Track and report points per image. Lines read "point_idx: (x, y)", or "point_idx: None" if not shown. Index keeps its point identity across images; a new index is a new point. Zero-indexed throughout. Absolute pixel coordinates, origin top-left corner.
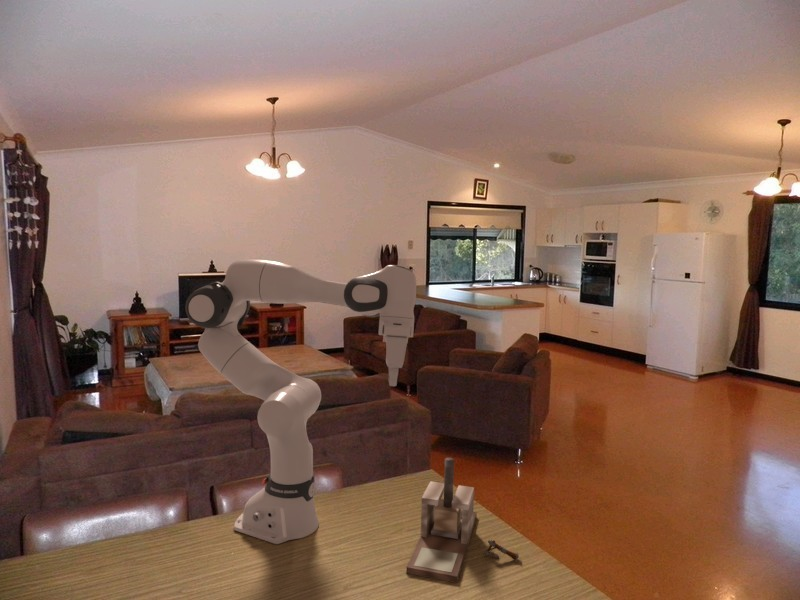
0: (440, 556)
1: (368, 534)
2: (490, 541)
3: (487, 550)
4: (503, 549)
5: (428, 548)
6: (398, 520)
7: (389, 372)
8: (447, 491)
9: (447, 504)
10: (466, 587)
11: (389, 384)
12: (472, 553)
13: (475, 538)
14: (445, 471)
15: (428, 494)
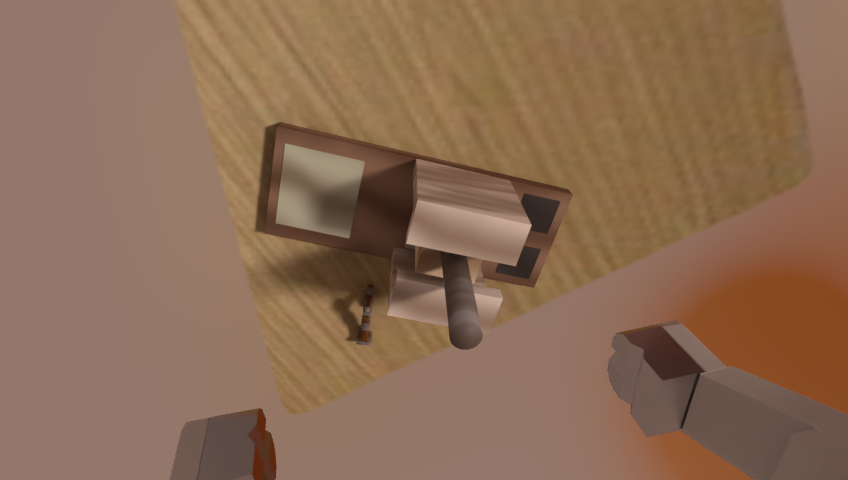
0: (332, 202)
1: (445, 7)
2: (366, 312)
3: (366, 295)
4: (361, 326)
5: (361, 177)
6: (522, 93)
7: (749, 406)
8: (443, 273)
9: (441, 254)
10: (256, 242)
11: (185, 428)
12: (379, 261)
13: None
14: (454, 301)
15: (440, 219)
